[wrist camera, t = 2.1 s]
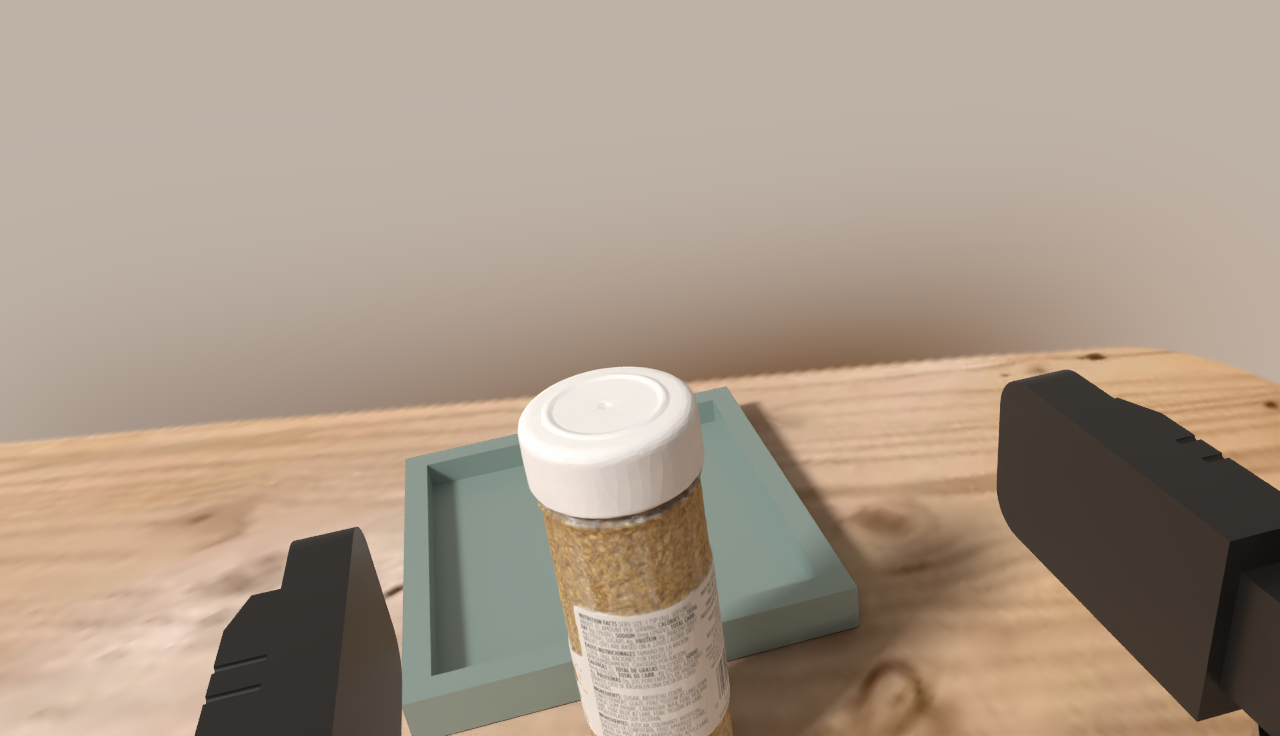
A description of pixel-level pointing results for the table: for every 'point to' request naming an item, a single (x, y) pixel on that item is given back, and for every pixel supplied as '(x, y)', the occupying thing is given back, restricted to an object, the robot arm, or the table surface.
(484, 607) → the tray
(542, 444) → the spice jar
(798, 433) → the table surface
